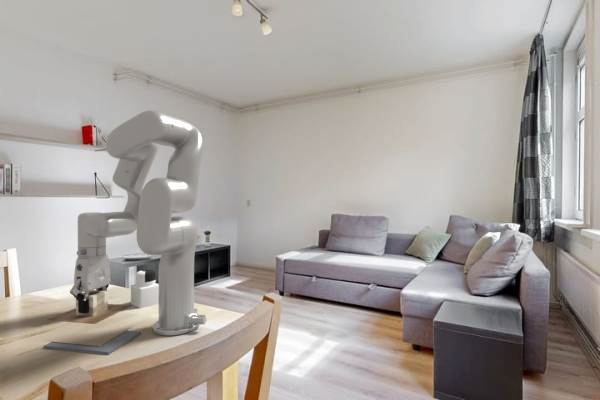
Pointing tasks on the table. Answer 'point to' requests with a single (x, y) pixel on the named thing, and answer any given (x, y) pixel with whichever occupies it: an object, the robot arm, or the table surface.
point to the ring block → (95, 303)
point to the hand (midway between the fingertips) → (92, 308)
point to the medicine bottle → (145, 289)
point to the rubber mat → (102, 349)
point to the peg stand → (72, 316)
